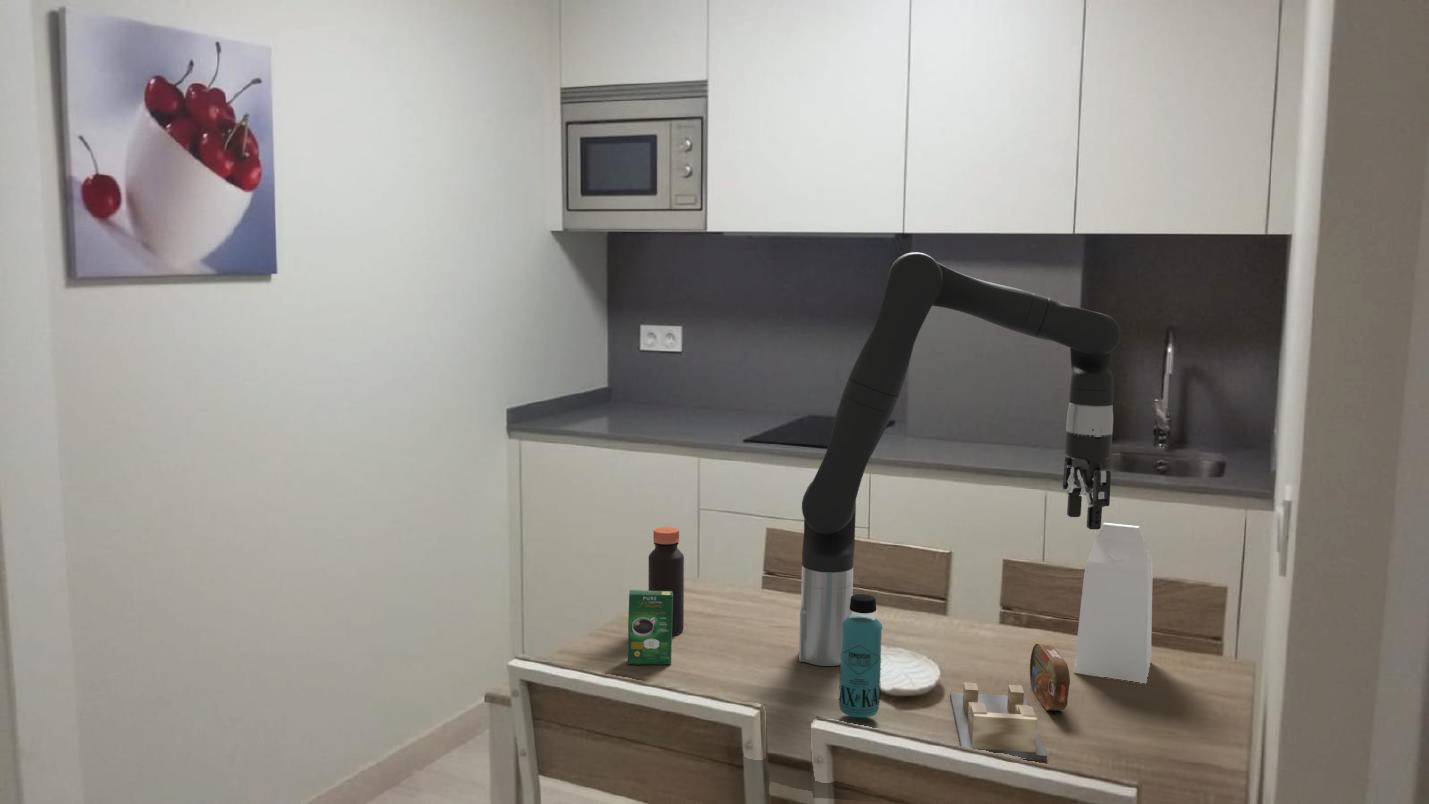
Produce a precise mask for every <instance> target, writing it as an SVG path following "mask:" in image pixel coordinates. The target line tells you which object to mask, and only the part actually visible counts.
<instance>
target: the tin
mask: <svg viewBox="0 0 1429 804" xmlns="http://www.w3.org/2000/svg"><path fill="white" fill-rule="evenodd" d="M1070 675H1071V674H1070V670H1069V667H1068V663H1067V662H1066V661H1065V659H1064V658H1063V657H1062V656H1061V654H1060V653H1059V652H1058V650H1056V648H1055V647H1054V646H1052V645H1051V644H1040V643H1035V644H1034V646H1033V647H1032V650H1031V655H1030V661H1029V682H1030V686H1031V690H1032V692H1033V693H1034V695H1035V696H1036V698H1037V699H1038V701H1039V702H1040V704H1041V706H1042V707H1043V708H1044V710H1045V711H1057V712H1060V711H1061V712H1062V711H1064V710H1065V709H1066V708H1067V706H1068V701H1069V690H1070V684H1071V677H1070Z"/></svg>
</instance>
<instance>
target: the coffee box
mask: <svg viewBox="0 0 1429 804" xmlns="http://www.w3.org/2000/svg"><path fill="white" fill-rule="evenodd" d="M628 593H629V594H628V621H627V665H637V666H640V665H658V666H663V665H670V666H671V665H672V644H673V643H672V642H673V640H672V639H673V638H672V637H673V636H672V618H673V592H672V591H649V590H643V589H642V590H641V589H640V590H639V589H638V590H636V589H635V590H634V589H630V590H629V592H628Z"/></svg>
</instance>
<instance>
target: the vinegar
mask: <svg viewBox="0 0 1429 804" xmlns="http://www.w3.org/2000/svg"><path fill="white" fill-rule="evenodd" d="M679 542H680V530H679V529H678V528H677V527H670V526H668V527H667V526H663V527H656V528H654V529H653V545H654V549H653V550H651V552H650V553H649V554H648V591H672V592H673V618H672V637H673V636H676V635H679V634H681V633H682V632H683V631H684V624H685V623H684V621H685V619H684V614H685V613H684V609H685V607H684V606H685V603H684V601H685V599H684V598H685V597H684V596H685V595H684V594H685V592H684V591H685V557H684V556H685V555H684V554H683V552H681V550H680V549H679V548H678V545H679V544H680V543H679Z"/></svg>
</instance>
